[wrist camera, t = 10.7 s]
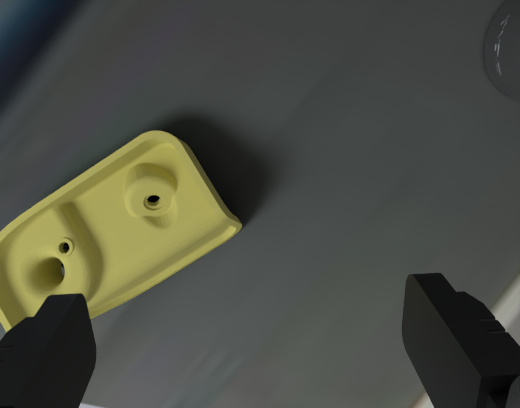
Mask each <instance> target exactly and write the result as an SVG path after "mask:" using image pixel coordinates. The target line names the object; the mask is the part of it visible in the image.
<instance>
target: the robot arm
mask: <svg viewBox="0 0 520 408" xmlns="http://www.w3.org/2000/svg"><path fill="white" fill-rule="evenodd" d="M484 60H485V66H486V70H487V72H488V75H489V77H490V79H491V81H492V82H493V83H494V85H495V86H496V87H497V88H498V89H499V90H500V91H502V92H503V93H504V94H505V95H508V96H510V97H512V98H515V99H518V100H520V0H506V2H505V3H504V4H503V5H502V6H501V7H500V9H499V10H498V12H497V13H496V15H495V16H494V18H493V20H492V22H491V24H490V27H489V29H488V31H487V36H486V40H485V44H484ZM402 337H403V342H404V346H405V349H406V352H407V354H408V356H409V358H410V360H411V362H412V364H413V366H414V368H415V370H416V372H417V374H418V376H419V378H420V380H421V382H422V384H423V386H424V388H425V390H426V392H427V394H428V396H429V398H430V400H431V402H432V404H433V406H434V408H520V346H519V345H518V344H517V343H516V341H515V340H514V339H513V338H512V337H511V335H510V334H509V333H508V332H507V333H506V332H505V328H504V327H503V326H502V325H501V324H500V323H499V321H498V320H495V317H494V316H493V314H492V313H491V312H490V311H489V310H488V308H487V307H486V306H485V305H484V304H483V303H482V302H480V301H479V300H477V299H476V298H474V297H472V296H471V295H469V294H467V293H466V292H464V291H463V292H456V291H455V290H454V289H453V287H452V286H451V285H450V284H449V282H448V281H447V280H446V279H445V277H444V276H443V275H442V274H441V273H426V274H410V275H408V277H407V280H406V286H405V297H404V308H403V319H402ZM95 363H96V344H95V339H94V334H93V330H92V325H91V321H90V316H89V311H88V307H87V302H86V299H85V297H84V295H83V294H82V293H75V294H58V295H49V296H48V297H47V298H46V299H45V301H44V302H43V304H42V305H41V307H40V308H39V310H38V311H37V313H36V314H35V316H34V317H26V318H24V319H23V320H22V321H20V322H19V323H18V324H16V325H15V326H14V327H12V328H11V329H10V330H8V331H7V333H6V334H5V335H4V337H3V338H2V340H1V341H0V408H79V405H80V403H81V400H82V398H83V396H84V393H85V391H86V388H87V386H88V383H89V381H90V378H91V376H92V373H93V371H94V367H95Z"/></svg>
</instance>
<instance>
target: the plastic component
mask: <svg viewBox="0 0 520 408" xmlns="http://www.w3.org/2000/svg"><path fill="white" fill-rule="evenodd" d="M152 195H157V196H159V197H160V199H159V200H158V201H156V202H154V203H153V202H149V201H148V200H147V199H148V197H149V196H152ZM241 228H242V224H241V222H240V221H239V219H238V218H237V217H236V216H235V215H233V214H232V213H231V212H230V211H229V209H228V208H227V207H226V205H225V204H224V203H223V201H222V200H221V198H220V196H219V195H218V193H217V191H216V190H215V188H214V186H213V185H212V183H211V181H210V180H209V178H208V177H207V175H206V173H205V172H204V170H203V168H202V167H201V165H200V163H199V162H198V160H197V158H196V157H195V155H194V153H193V152H192V150H191V149H190V147H189V146H188V145H187V144H186V143H184V142H183V141H181V140H180V139H178V138H176V137H175V136H173V135H171V134H169V133H167V132H163V131H149V132H146V133H143V134H141V135H140V136H138V137H137V138H135V139H134V140H132V141H131V142H129V143H128V144H126V145H125V146H123V147H122V148H120V149H119V150H117V151H116V152H114V153H112V154H111V155H109V156H108V157H106V158H105V159H103V160H102V161H100V162H99V163H97V164H96V165H94V166H93V167H91V168H90V169H88V170H87V171H85V172H84V173H82V174H81V175H79V176H78V177H76V178H75V179H73V180H72V181H70V182H69V183H67V184H66V185H64V186H63V187H61V188H60V189H58V190H57V191H55V192H54V193H52V194H51V195H49V196H48V197H46V198H45V199H43V200H42V201H40V202H39V203H37V204H36V205H34V206H33V207H31V208H30V209H28V210H27V211H26V212H24V213H23V214H21V215H20V216H18V217H17V218H16V219H15V220H13V221H12V222H11V223H10V224H8V225H7V226H6V227H5V228H4V229H3V230H2V231H1V232H0V322H1V324H2V325H3V327H4V329H5V331H6V333H7V331H8V330H10V329H11V328H12V327H14V326H15V325H16V324H18V323H19V322H20V321H22V320H23V319H24V318H26V317H34V316H35V314H36V313H37V311H38V310H39V308H40V307H41V305H42V304H43V302H44V301H45V299H46V298H47V297H48V296H49V295H58V294H75V293H82V294H83V295H84V297H85V299H86V302H87V307H88V311H89V316H90V319H91V318H94V317H96V316H98V315H100V314H102V313H104V312H106V311H108V310H110V309H112V308H114V307H116V306H118V305H120V304H122V303H124V302H126V301H128V300H130V299H132V298H134V297H136V296H137V295H139V294H141V293H143V292H145V291H146V290H148V289H150V288H152V287H153V286H155V285H157V284H158V283H160V282H162V281H163V280H165V279H167V278H168V277H170V276H171V275H173V274H175V273H176V272H178V271H179V270H181V269H183V268H184V267H186V266H187V265H189V264H191V263H192V262H194V261H195V260H197V259H199V258H200V257H202V256H203V255H205V254H207V253H208V252H210V251H211V250H213V249H215V248H216V247H218V246H219V245H221V244H223V243H224V242H226V241H227V240H229V239H230V238H232V237H233V236H234V235H235V234H236V233H238V232H239V230H240V229H241ZM65 242H67V243H68V245H69V249H65V250H64V249H63V245H64V243H65ZM62 263H63V265H64V268H65V276H63V274H62V272H61V264H62Z"/></svg>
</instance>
